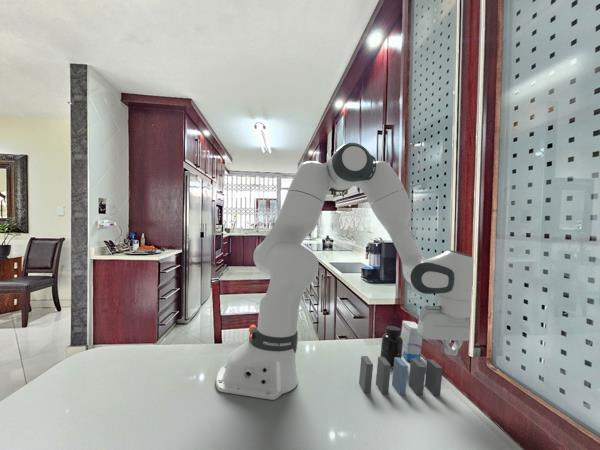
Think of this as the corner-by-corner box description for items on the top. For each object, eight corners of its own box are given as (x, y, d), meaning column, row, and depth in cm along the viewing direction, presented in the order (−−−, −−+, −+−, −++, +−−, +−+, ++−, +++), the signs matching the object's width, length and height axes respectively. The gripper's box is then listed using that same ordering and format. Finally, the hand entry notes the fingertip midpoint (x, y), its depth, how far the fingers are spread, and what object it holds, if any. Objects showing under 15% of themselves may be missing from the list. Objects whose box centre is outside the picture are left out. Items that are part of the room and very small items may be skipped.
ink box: (421, 362, 102) (424, 329, 101) (406, 361, 102) (409, 327, 102) (412, 352, 110) (414, 321, 110) (398, 350, 110) (401, 319, 110)
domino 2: (381, 393, 80) (384, 365, 80) (375, 383, 85) (378, 356, 85) (388, 394, 80) (390, 365, 80) (381, 384, 85) (384, 356, 85)
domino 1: (364, 393, 80) (366, 364, 80) (358, 383, 85) (361, 355, 85) (370, 393, 80) (373, 364, 80) (364, 383, 85) (367, 356, 85)
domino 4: (416, 395, 81) (419, 366, 81) (408, 385, 86) (411, 358, 86) (422, 395, 81) (425, 367, 81) (414, 385, 86) (416, 358, 86)
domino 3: (399, 394, 81) (401, 365, 80) (391, 384, 86) (394, 357, 85) (405, 394, 81) (407, 366, 81) (397, 384, 86) (400, 357, 86)
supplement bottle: (402, 369, 95) (405, 333, 95) (380, 365, 97) (383, 329, 97) (399, 360, 102) (402, 326, 102) (379, 356, 103) (382, 323, 103)
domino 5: (433, 396, 81) (436, 367, 81) (424, 386, 86) (427, 359, 86) (440, 396, 81) (442, 368, 81) (430, 386, 86) (433, 359, 86)
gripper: (426, 308, 80) (422, 358, 80) (495, 312, 82) (491, 360, 82) (415, 302, 87) (411, 348, 87) (479, 305, 88) (475, 350, 89)
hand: (450, 354), depth 85 cm, fingers closed
